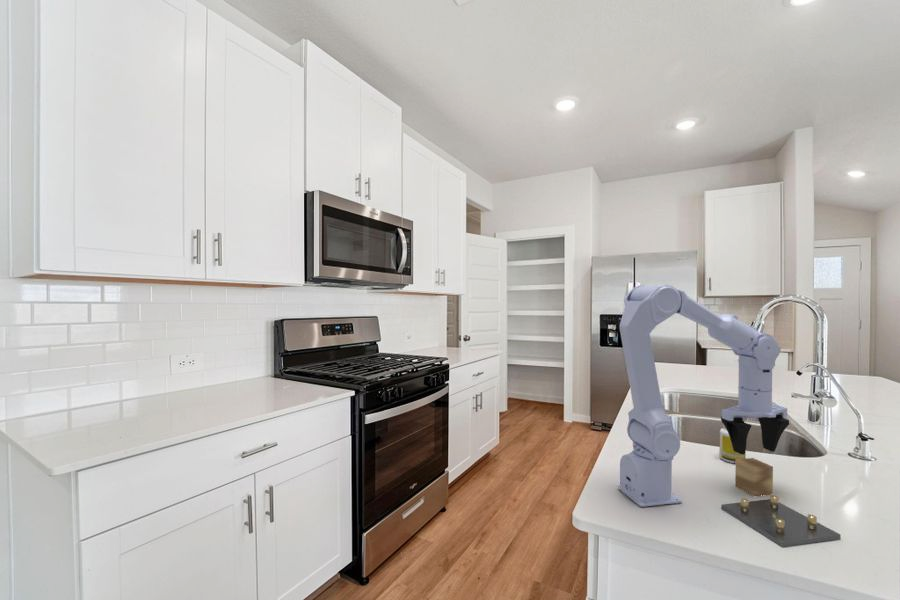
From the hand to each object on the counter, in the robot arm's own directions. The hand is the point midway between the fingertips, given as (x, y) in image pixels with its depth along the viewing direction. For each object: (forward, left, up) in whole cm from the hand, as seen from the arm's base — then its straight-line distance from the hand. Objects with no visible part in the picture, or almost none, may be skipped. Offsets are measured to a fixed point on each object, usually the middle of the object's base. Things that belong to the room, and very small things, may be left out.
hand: (754, 451), depth 85 cm
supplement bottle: (+9, +14, -9) cm, 19 cm away
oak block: (0, 0, -9) cm, 9 cm away
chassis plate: (-7, -11, -8) cm, 16 cm away
